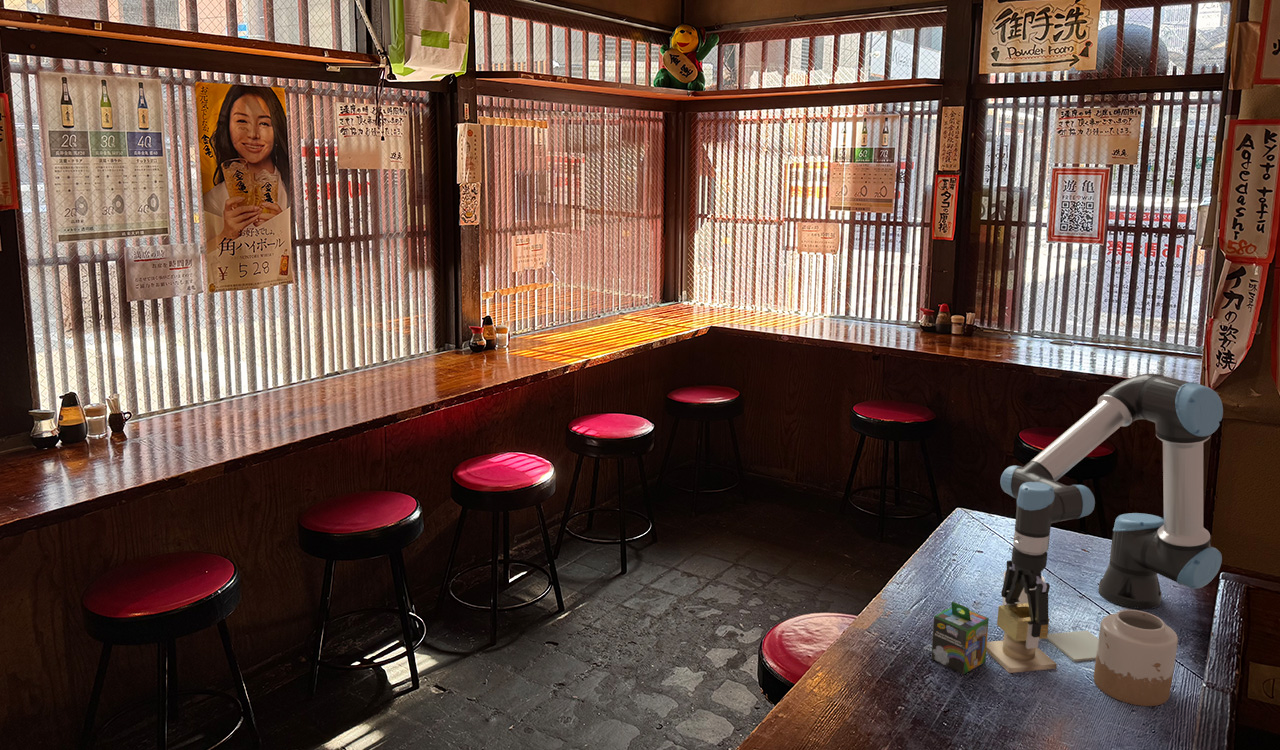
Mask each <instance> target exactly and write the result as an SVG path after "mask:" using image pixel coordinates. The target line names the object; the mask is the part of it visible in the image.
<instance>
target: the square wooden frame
mask: <svg viewBox="0 0 1280 750" xmlns="http://www.w3.org/2000/svg"><path fill="white" fill-rule="evenodd" d="M1035 619H1036V618H1035ZM1028 622H1031V619H1030V612H1029V605H1028V603H1022V604H1012V605H1003V604H1001V605H998V611H997V621H996V625H997V626H998V627H999V628H1000V629H1001V630H1002V631H1003V632H1004V633H1005V632H1006V633H1007V634H1008V635H1009V636H1010V637H1011V638H1012V639H1013V640H1015V641H1026V638H1027V628H1028ZM1049 625H1050V617H1048V625H1041V631H1040V637H1039V640H1043V639H1046V638H1047V635H1048V634H1049ZM1046 640H1047V639H1046Z"/></svg>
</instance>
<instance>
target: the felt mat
mask: <svg viewBox="0 0 1280 750" xmlns="http://www.w3.org/2000/svg"><path fill="white" fill-rule="evenodd" d="M1098 639H1099V637H1097V636H1095V635H1094V634H1093V633H1091V632H1090V631H1089V630H1079V631H1077V630H1076V631H1067V632H1055V633H1048V635H1047V638H1046V640H1047V641H1049V643H1051V645H1053V646H1054V647H1056V648H1057V649H1058V650H1059V651H1061V652H1062V653H1063V654H1064V655H1065V656H1067V657H1068V658H1069V659H1070V660H1071V661H1073V662H1074V663H1075V662H1084V661H1096V654H1097V646H1098Z"/></svg>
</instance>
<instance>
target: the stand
mask: <svg viewBox="0 0 1280 750" xmlns="http://www.w3.org/2000/svg"><path fill="white" fill-rule="evenodd" d="M986 653H987V654H989V655H990V657H992V659H994V661H996V662H997V663H998V664H999V665H1000V666H1001V667H1003V669H1004V670H1005V671H1006V672H1008V674H1012V673H1022V672H1034V671H1035V672H1036V671H1042V670H1043V671H1044V670H1045V671H1046V670H1050V669H1051V670H1053V669H1055V670H1056V669H1057V664H1058V663H1056V661H1054V660H1053V659H1052V658H1051V657H1049V656H1048V655H1047V654H1046V653H1045V652H1044V651H1043V650H1041V649H1040V648H1039V647H1038V648H1031V649H1027V648H1026V641H1015V640H1013V639H1012V638H1011V637H1010V636H1009V635H1008V634H1007V633H1006V632H1004V633H1003V639H1002V640H994V641H987V648H986Z"/></svg>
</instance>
